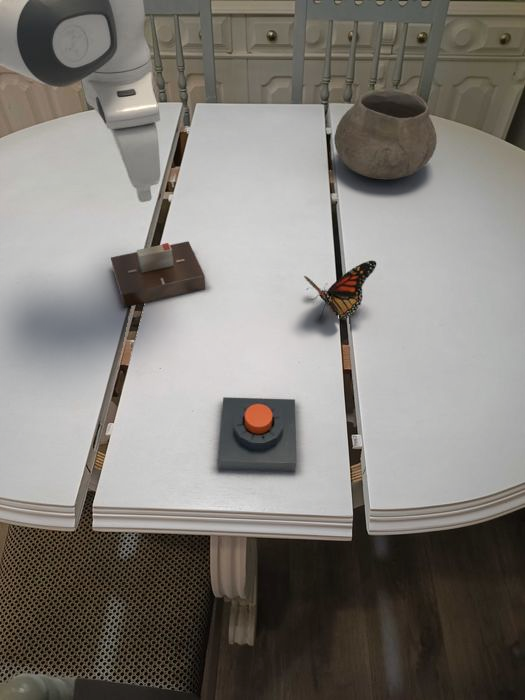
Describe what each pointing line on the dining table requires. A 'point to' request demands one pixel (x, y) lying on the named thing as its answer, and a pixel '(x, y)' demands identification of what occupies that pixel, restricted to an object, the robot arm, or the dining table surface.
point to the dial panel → (158, 276)
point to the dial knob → (155, 257)
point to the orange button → (258, 418)
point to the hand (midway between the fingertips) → (137, 181)
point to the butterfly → (346, 290)
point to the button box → (257, 437)
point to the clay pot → (386, 134)
